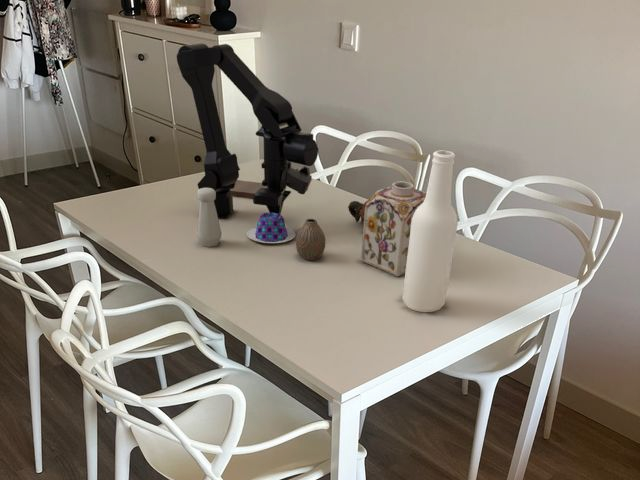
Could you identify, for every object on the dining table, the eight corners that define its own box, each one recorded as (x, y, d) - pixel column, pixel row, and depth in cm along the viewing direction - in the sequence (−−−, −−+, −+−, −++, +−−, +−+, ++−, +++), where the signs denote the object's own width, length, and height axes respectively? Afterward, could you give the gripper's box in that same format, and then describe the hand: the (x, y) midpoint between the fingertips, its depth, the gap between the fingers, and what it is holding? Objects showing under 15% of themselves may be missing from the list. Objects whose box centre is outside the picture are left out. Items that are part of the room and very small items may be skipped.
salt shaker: (224, 240, 162) (221, 186, 154) (219, 249, 157) (216, 193, 149) (201, 238, 162) (196, 184, 154) (195, 247, 157) (190, 192, 150)
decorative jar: (392, 249, 161) (400, 173, 150) (429, 264, 154) (441, 185, 143) (358, 261, 154) (364, 183, 143) (396, 278, 147) (406, 196, 137)
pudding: (276, 250, 158) (276, 228, 155) (237, 238, 163) (236, 217, 160) (304, 235, 166) (305, 214, 163) (266, 224, 171) (265, 204, 168)
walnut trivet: (224, 195, 188) (224, 189, 188) (236, 184, 196) (236, 179, 195) (264, 200, 186) (264, 194, 185) (274, 189, 194) (274, 184, 193)
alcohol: (415, 316, 133) (436, 161, 115) (394, 297, 139) (411, 148, 121) (452, 309, 136) (478, 157, 118) (430, 291, 142) (451, 145, 124)
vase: (314, 265, 151) (315, 228, 146) (289, 258, 154) (290, 221, 149) (330, 255, 156) (332, 219, 151) (305, 249, 159) (306, 212, 154)
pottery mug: (392, 224, 176) (399, 202, 168) (380, 250, 172) (386, 229, 164) (351, 206, 176) (356, 184, 169) (337, 232, 173) (342, 210, 165)
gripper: (298, 172, 149) (297, 239, 158) (318, 150, 163) (316, 213, 173) (251, 167, 151) (253, 234, 160) (274, 146, 165) (275, 208, 175)
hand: (276, 222), depth 167 cm, fingers closed
